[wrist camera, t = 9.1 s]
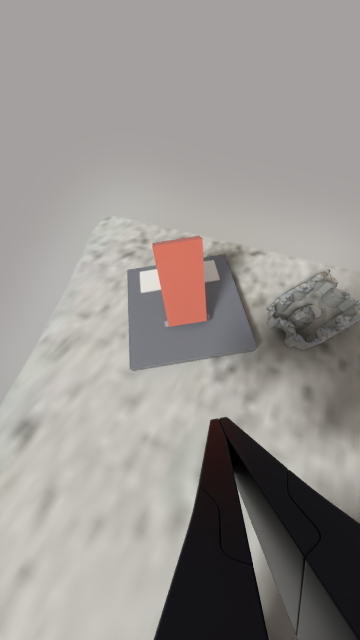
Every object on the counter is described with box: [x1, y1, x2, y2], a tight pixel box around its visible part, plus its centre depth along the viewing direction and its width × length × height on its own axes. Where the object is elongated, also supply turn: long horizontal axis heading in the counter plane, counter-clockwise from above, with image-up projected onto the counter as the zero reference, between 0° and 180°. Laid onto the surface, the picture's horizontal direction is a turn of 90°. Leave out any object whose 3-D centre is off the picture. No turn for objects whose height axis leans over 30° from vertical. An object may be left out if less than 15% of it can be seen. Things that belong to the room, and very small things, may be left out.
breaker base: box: [127, 255, 257, 371], centre depth 27 cm, size 16×16×2 cm
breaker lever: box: [152, 236, 210, 327], centre depth 22 cm, size 2×6×10 cm
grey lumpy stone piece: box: [266, 270, 360, 351], centre depth 24 cm, size 11×8×4 cm
